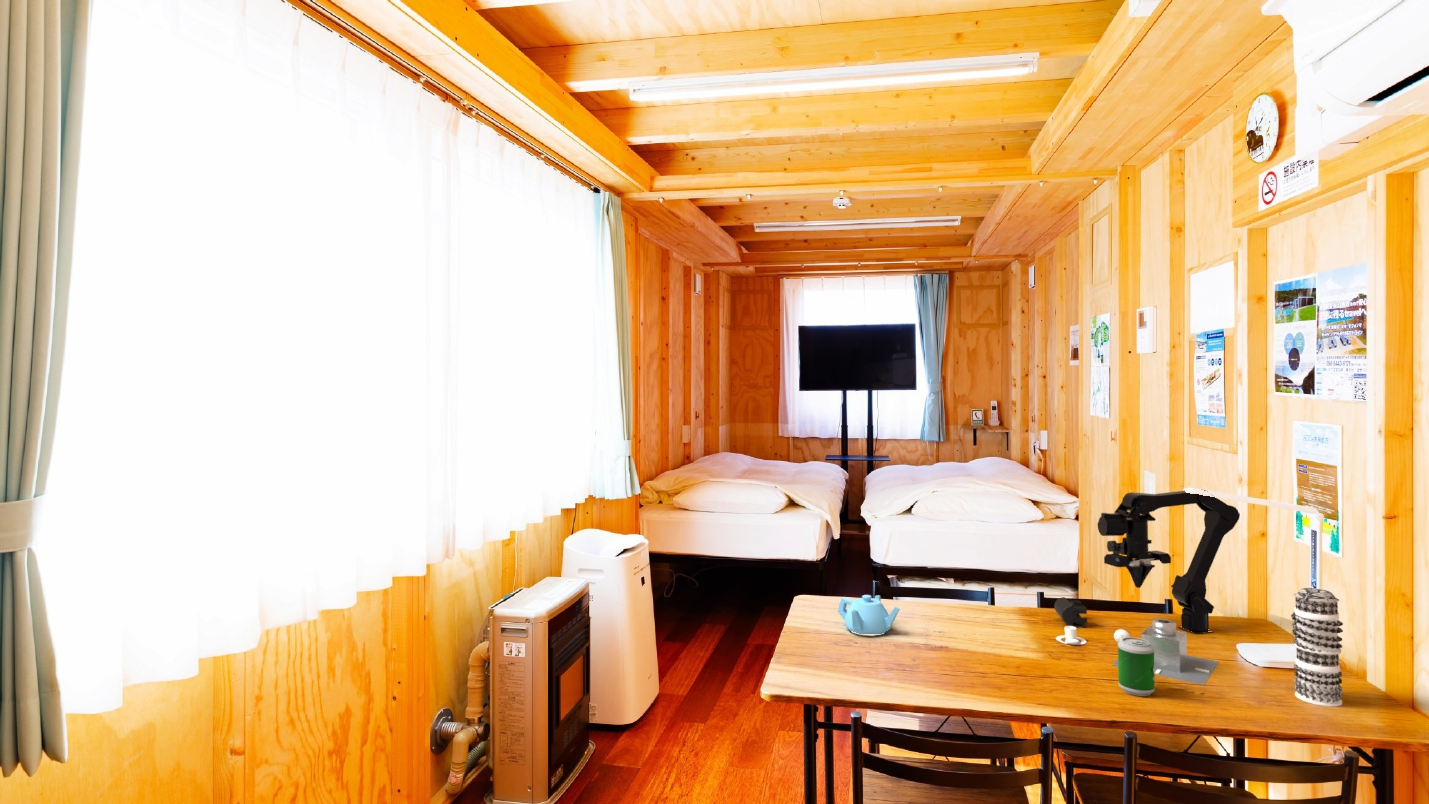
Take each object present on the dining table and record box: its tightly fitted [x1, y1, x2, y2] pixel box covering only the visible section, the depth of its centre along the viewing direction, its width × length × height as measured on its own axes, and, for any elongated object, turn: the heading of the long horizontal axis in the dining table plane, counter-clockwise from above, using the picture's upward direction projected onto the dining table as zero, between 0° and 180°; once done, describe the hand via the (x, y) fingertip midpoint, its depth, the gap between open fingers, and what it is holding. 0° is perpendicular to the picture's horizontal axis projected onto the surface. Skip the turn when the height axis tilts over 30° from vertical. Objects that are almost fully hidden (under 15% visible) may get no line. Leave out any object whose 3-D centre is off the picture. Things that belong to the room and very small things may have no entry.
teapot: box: [837, 594, 901, 634], centre depth 222 cm, size 15×15×11 cm
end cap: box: [1053, 596, 1088, 629], centre depth 225 cm, size 10×7×7 cm
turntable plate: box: [1111, 628, 1219, 686], centre depth 187 cm, size 20×20×10 cm
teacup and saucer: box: [1055, 625, 1088, 646], centre depth 209 cm, size 9×8×4 cm
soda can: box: [1117, 636, 1156, 697], centre depth 173 cm, size 8×8×12 cm
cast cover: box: [1141, 618, 1188, 673], centre depth 187 cm, size 8×8×11 cm
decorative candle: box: [1290, 587, 1344, 708], centre depth 166 cm, size 9×9×25 cm
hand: (1138, 587), depth 216 cm, fingers closed
